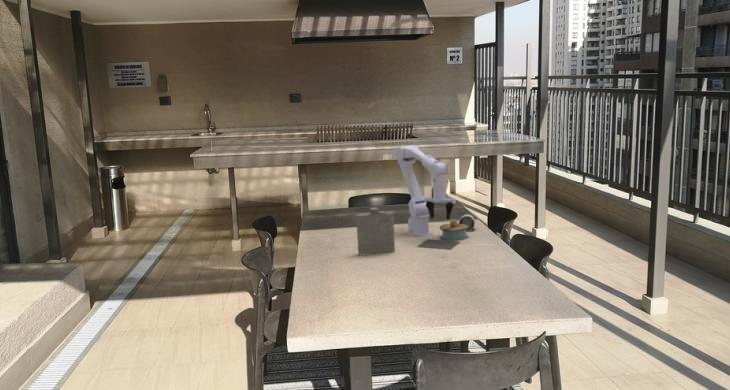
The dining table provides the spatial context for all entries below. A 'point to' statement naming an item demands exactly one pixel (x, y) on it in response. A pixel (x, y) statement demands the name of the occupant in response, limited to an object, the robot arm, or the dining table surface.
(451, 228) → the walnut cover
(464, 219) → the ceramic mug
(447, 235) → the slate-blue bowl
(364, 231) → the hip flask
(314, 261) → the dining table surface
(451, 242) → the rubber mat
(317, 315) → the dining table surface
